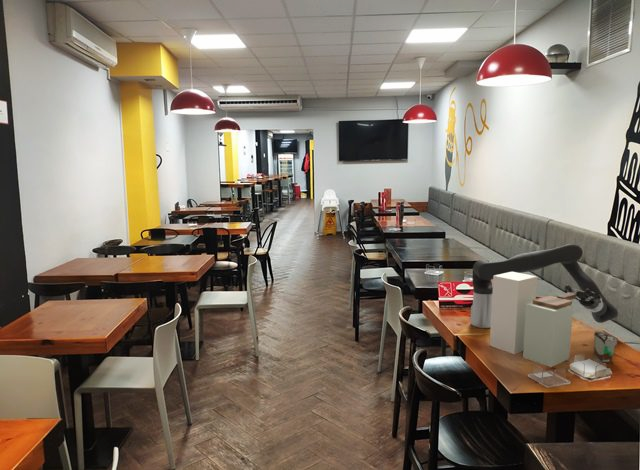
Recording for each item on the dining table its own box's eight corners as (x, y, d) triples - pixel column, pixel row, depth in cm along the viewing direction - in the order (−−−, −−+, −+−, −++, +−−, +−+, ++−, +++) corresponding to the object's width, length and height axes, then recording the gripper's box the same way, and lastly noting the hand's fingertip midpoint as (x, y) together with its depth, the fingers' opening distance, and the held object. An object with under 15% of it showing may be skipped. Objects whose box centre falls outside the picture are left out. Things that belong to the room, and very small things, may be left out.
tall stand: (489, 345, 208) (493, 275, 203) (508, 339, 216) (512, 271, 211) (514, 354, 198) (518, 280, 193) (532, 347, 206) (537, 276, 201)
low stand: (522, 357, 195) (526, 304, 191) (541, 349, 202) (544, 298, 199) (550, 367, 185) (554, 311, 182) (569, 359, 193) (573, 305, 190)
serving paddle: (532, 303, 192) (532, 298, 192) (560, 295, 205) (560, 290, 204) (556, 309, 184) (556, 304, 184) (584, 300, 197) (584, 295, 196)
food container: (620, 366, 186) (622, 342, 184) (603, 365, 187) (605, 341, 185) (608, 354, 198) (610, 331, 196) (592, 353, 199) (594, 330, 197)
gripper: (577, 290, 217) (562, 277, 208) (610, 297, 206) (596, 284, 197) (572, 305, 216) (557, 293, 207) (605, 313, 204) (590, 300, 195)
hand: (576, 288), depth 202 cm, fingers open, 8 cm apart
